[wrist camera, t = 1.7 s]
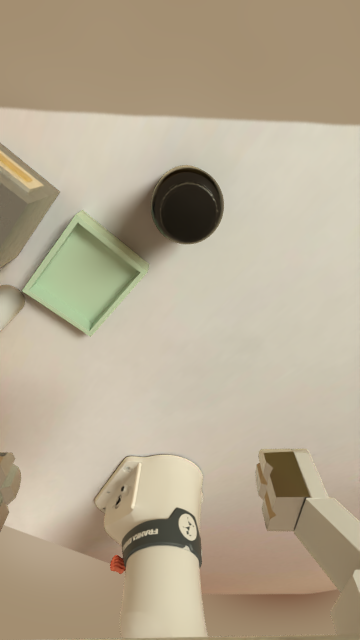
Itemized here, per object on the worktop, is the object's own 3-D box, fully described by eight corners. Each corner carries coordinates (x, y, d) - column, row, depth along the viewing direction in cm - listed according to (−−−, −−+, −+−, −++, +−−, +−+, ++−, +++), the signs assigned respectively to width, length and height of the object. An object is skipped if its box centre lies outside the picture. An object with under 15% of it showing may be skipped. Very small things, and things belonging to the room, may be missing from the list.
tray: (95, 326, 44) (90, 336, 42) (31, 282, 41) (21, 290, 39) (149, 264, 40) (147, 271, 38) (82, 210, 37) (75, 214, 34)
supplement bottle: (226, 196, 36) (248, 214, 26) (185, 238, 39) (189, 272, 28) (184, 149, 34) (188, 148, 24) (142, 197, 36) (130, 217, 26)
